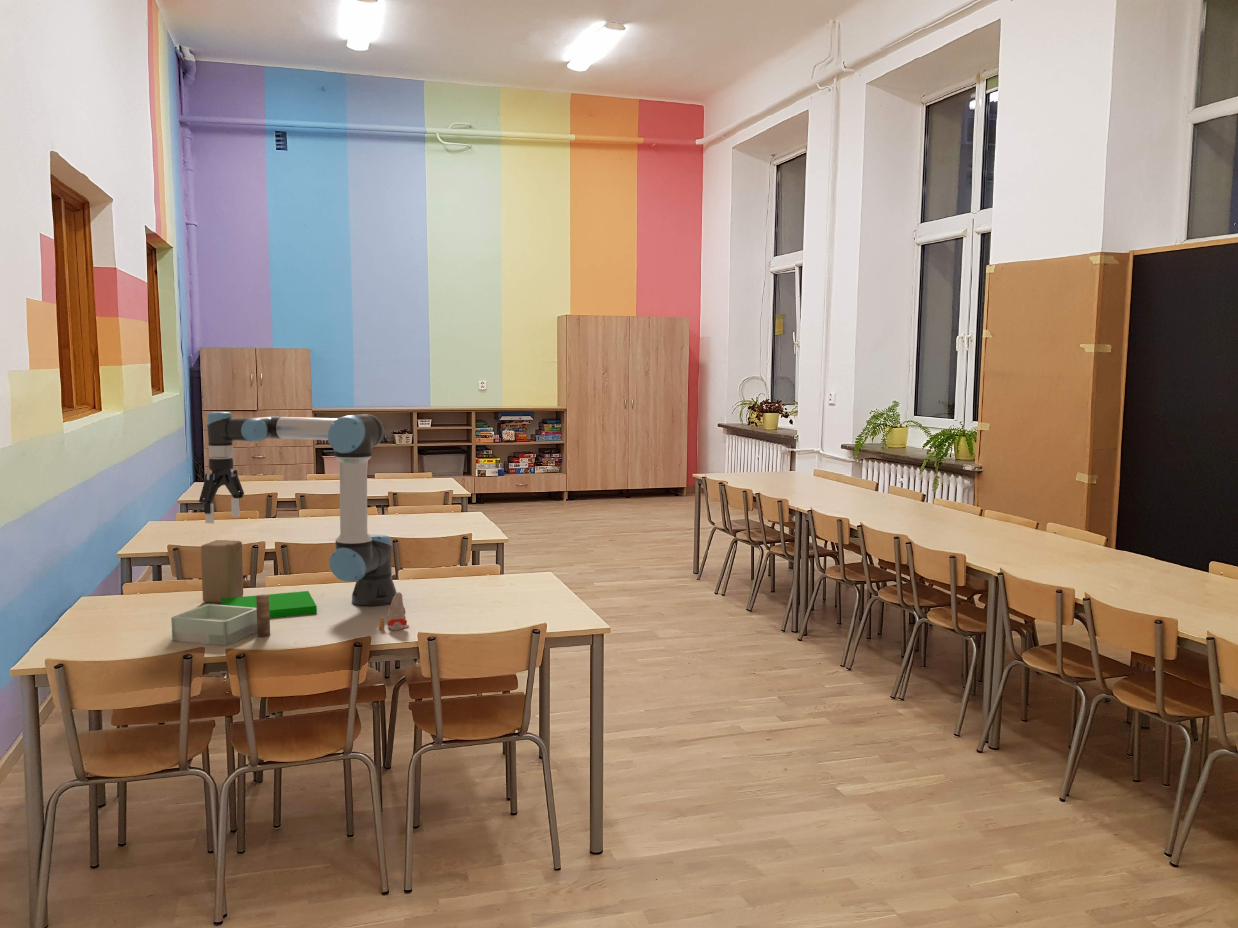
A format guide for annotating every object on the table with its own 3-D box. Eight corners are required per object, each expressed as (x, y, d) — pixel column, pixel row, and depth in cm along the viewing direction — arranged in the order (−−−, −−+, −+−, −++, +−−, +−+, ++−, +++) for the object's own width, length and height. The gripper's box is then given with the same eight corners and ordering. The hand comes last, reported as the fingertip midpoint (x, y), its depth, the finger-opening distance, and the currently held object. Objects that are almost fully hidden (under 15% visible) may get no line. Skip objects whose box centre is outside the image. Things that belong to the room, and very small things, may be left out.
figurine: (406, 623, 288) (409, 588, 285) (410, 632, 282) (413, 596, 279) (377, 625, 284) (379, 589, 281) (380, 634, 278) (383, 597, 275)
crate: (260, 630, 278) (259, 608, 278) (226, 645, 263) (225, 621, 262) (208, 625, 282) (207, 603, 282) (172, 640, 267) (171, 617, 266)
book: (220, 607, 307) (220, 598, 306) (308, 599, 319) (308, 590, 318) (223, 624, 286) (222, 615, 286) (316, 615, 298) (316, 606, 298)
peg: (272, 634, 275) (271, 595, 274) (265, 637, 272) (264, 597, 270) (262, 633, 276) (261, 594, 275) (254, 636, 272) (253, 597, 271)
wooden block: (244, 596, 319) (243, 540, 317) (229, 604, 309) (227, 545, 307) (217, 595, 320) (215, 539, 318) (201, 602, 310) (199, 544, 308)
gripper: (234, 454, 321) (236, 513, 323) (185, 460, 297) (188, 525, 299) (253, 454, 319) (255, 514, 321) (205, 461, 295) (208, 526, 297)
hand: (223, 520), depth 310 cm, fingers open, 13 cm apart
